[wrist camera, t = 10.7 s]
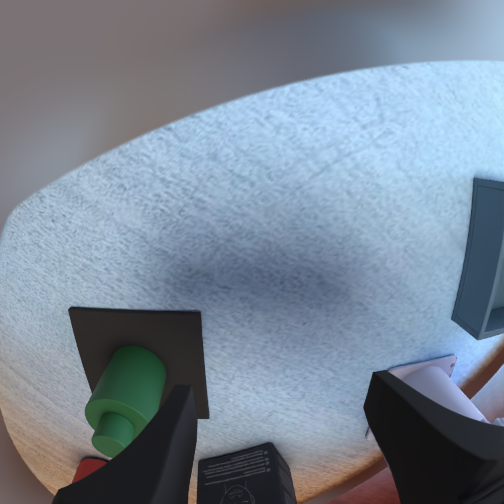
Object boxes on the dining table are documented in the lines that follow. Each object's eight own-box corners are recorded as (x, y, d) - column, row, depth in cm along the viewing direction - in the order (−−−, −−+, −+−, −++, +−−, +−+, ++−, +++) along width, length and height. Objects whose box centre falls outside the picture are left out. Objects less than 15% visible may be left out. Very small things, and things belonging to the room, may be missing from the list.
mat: (209, 415, 23) (209, 419, 23) (99, 405, 22) (98, 409, 22) (200, 311, 20) (200, 314, 20) (70, 306, 20) (67, 309, 19)
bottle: (170, 392, 22) (153, 473, 14) (118, 388, 21) (87, 462, 14) (162, 347, 20) (136, 428, 13) (106, 343, 20) (63, 416, 12)
